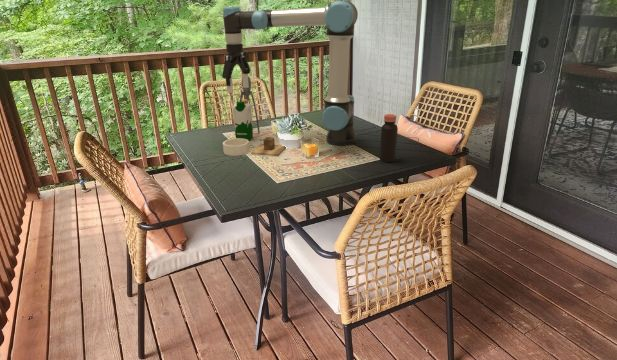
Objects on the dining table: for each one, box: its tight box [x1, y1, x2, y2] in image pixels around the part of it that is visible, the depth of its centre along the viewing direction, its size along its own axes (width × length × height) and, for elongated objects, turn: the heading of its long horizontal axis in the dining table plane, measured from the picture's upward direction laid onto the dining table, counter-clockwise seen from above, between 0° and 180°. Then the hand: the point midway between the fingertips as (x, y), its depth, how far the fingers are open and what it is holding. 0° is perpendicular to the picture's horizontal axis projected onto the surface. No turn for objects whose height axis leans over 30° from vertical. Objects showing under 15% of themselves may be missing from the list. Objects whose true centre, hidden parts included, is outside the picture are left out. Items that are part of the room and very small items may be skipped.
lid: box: [250, 136, 286, 157], centre depth 195 cm, size 13×13×6 cm
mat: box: [248, 149, 288, 158], centre depth 196 cm, size 15×15×1 cm
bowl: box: [222, 137, 251, 157], centre depth 195 cm, size 12×12×5 cm
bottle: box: [379, 113, 399, 163], centre depth 179 cm, size 7×7×20 cm
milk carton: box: [232, 100, 254, 142], centre depth 210 cm, size 9×9×20 cm
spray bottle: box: [239, 76, 261, 135], centre depth 222 cm, size 10×11×30 cm
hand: (238, 90), depth 198 cm, fingers open, 13 cm apart
